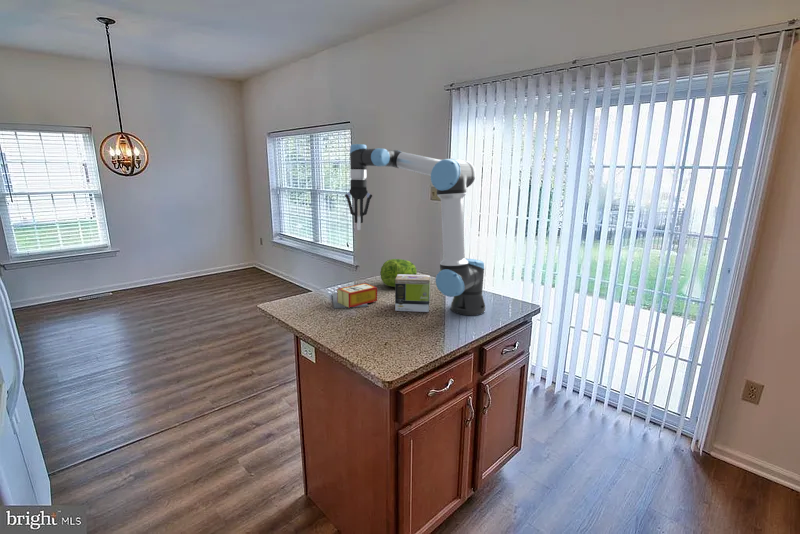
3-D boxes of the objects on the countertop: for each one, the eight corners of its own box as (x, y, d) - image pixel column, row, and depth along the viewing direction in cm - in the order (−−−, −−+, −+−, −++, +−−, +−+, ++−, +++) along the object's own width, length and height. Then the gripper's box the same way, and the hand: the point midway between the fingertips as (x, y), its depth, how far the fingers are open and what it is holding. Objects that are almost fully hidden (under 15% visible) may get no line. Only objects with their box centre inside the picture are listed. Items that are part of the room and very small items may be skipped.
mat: (367, 306, 177) (367, 305, 177) (334, 308, 174) (334, 306, 174) (362, 293, 196) (362, 291, 196) (332, 294, 193) (332, 293, 193)
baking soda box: (377, 287, 181) (348, 293, 171) (377, 300, 183) (348, 308, 173) (365, 282, 188) (336, 288, 178) (365, 295, 190) (336, 302, 180)
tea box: (429, 305, 181) (430, 274, 177) (428, 313, 171) (430, 280, 167) (396, 303, 182) (397, 272, 178) (394, 311, 172) (395, 278, 169)
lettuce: (422, 289, 214) (423, 262, 215) (403, 286, 196) (405, 256, 197) (396, 289, 222) (398, 262, 223) (376, 286, 204) (378, 257, 205)
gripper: (371, 179, 187) (371, 228, 193) (343, 178, 184) (344, 228, 190) (373, 179, 180) (373, 230, 185) (345, 179, 177) (345, 231, 183)
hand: (358, 229), depth 188 cm, fingers closed
